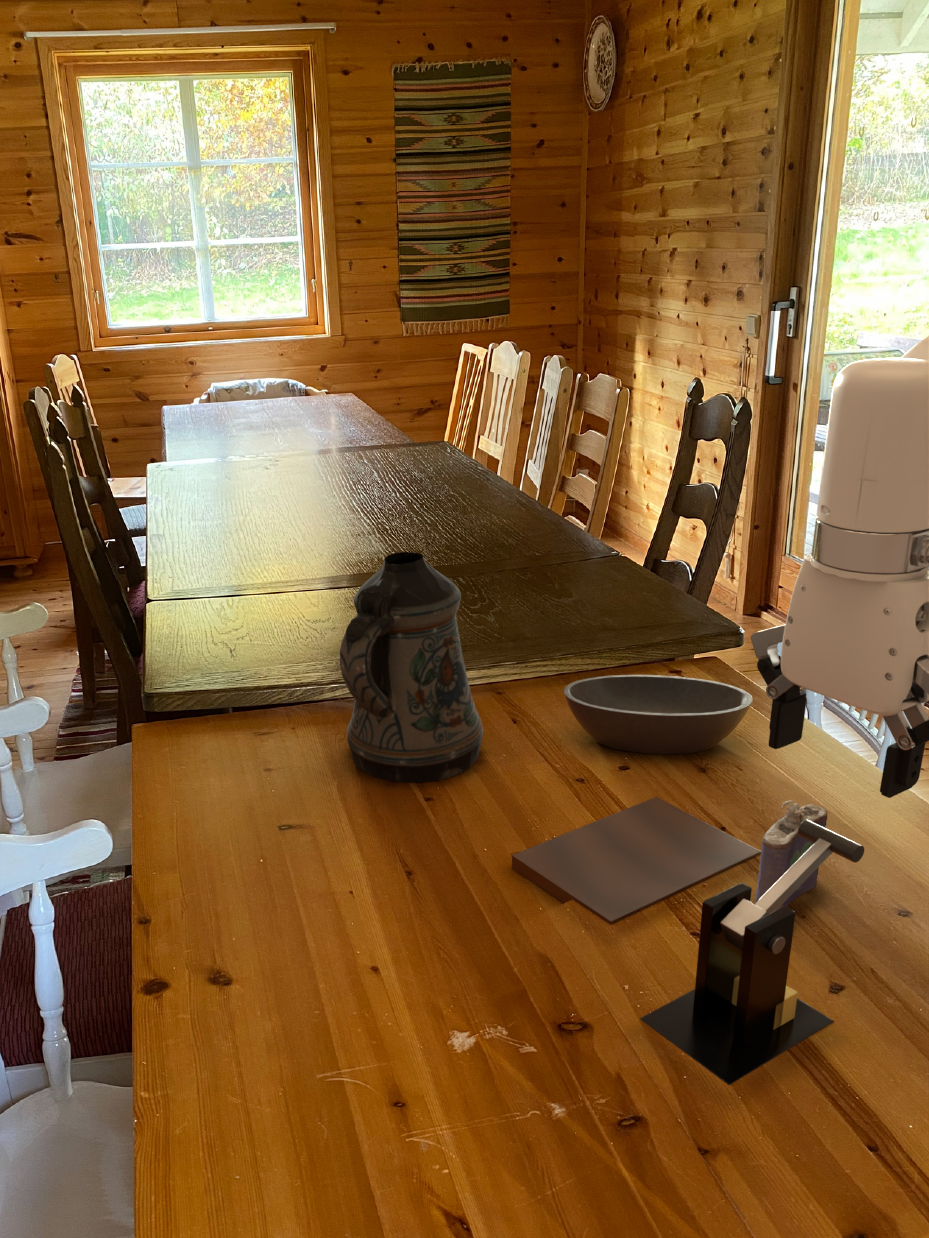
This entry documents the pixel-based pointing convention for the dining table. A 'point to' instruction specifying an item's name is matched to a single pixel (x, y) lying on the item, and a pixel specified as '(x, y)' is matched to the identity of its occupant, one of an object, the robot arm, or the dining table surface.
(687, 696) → the bowl
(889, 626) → the robot arm
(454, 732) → the beer stein
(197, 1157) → the dining table surface
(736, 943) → the lever
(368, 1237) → the dining table surface
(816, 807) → the flask
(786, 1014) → the butter
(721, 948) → the dark brown stand
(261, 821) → the dining table surface
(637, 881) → the cutting board
